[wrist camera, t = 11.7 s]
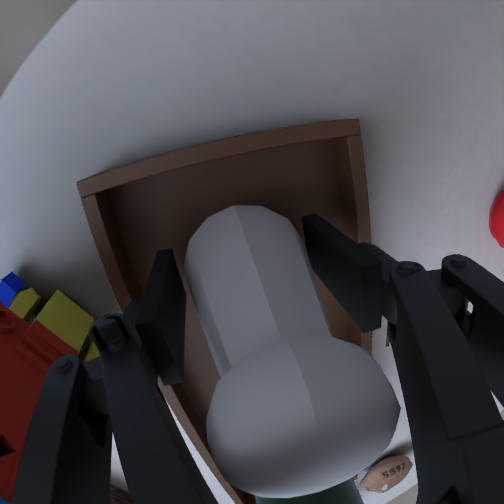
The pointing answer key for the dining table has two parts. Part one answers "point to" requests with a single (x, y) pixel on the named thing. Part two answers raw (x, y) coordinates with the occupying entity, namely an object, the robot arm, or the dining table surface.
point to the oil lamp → (386, 474)
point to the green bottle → (321, 496)
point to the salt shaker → (280, 363)
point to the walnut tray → (211, 202)
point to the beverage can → (497, 219)
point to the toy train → (31, 362)
